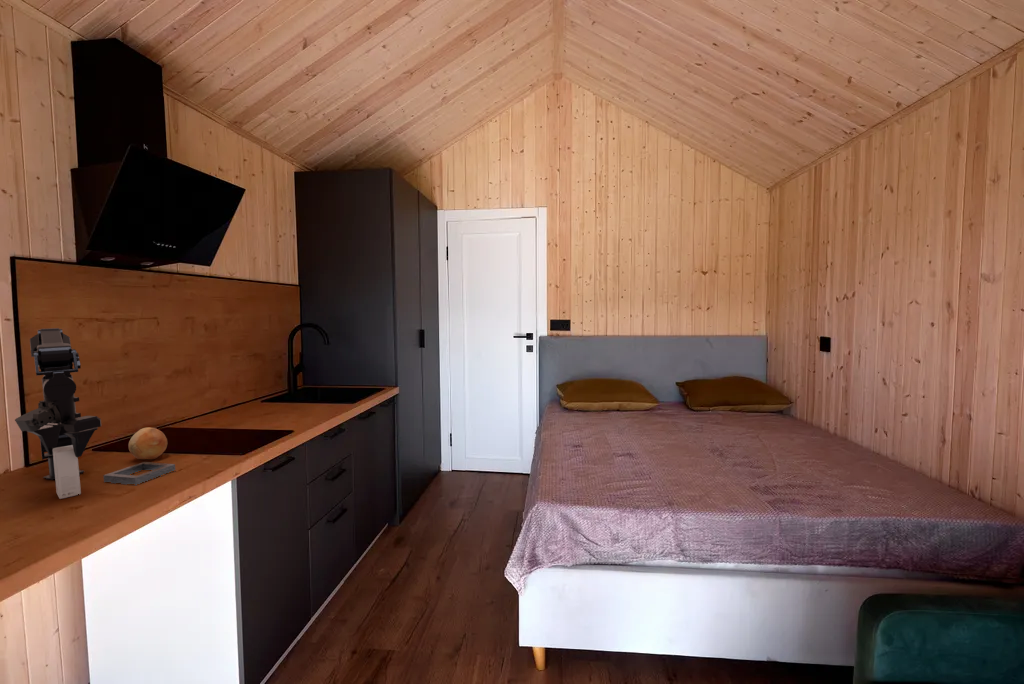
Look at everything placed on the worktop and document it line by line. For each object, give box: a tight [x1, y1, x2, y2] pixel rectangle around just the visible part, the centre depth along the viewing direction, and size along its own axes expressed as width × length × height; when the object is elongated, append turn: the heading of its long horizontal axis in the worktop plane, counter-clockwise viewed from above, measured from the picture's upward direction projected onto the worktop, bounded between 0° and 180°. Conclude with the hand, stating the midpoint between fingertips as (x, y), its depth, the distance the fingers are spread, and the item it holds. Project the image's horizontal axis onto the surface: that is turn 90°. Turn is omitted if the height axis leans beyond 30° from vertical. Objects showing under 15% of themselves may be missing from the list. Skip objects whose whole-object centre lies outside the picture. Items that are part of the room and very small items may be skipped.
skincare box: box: [53, 445, 82, 500], centre depth 125 cm, size 6×4×12 cm
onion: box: [128, 427, 168, 460], centre depth 153 cm, size 10×10×10 cm
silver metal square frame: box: [102, 461, 176, 486], centre depth 137 cm, size 11×11×2 cm
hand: (65, 455), depth 125 cm, fingers open, 9 cm apart
